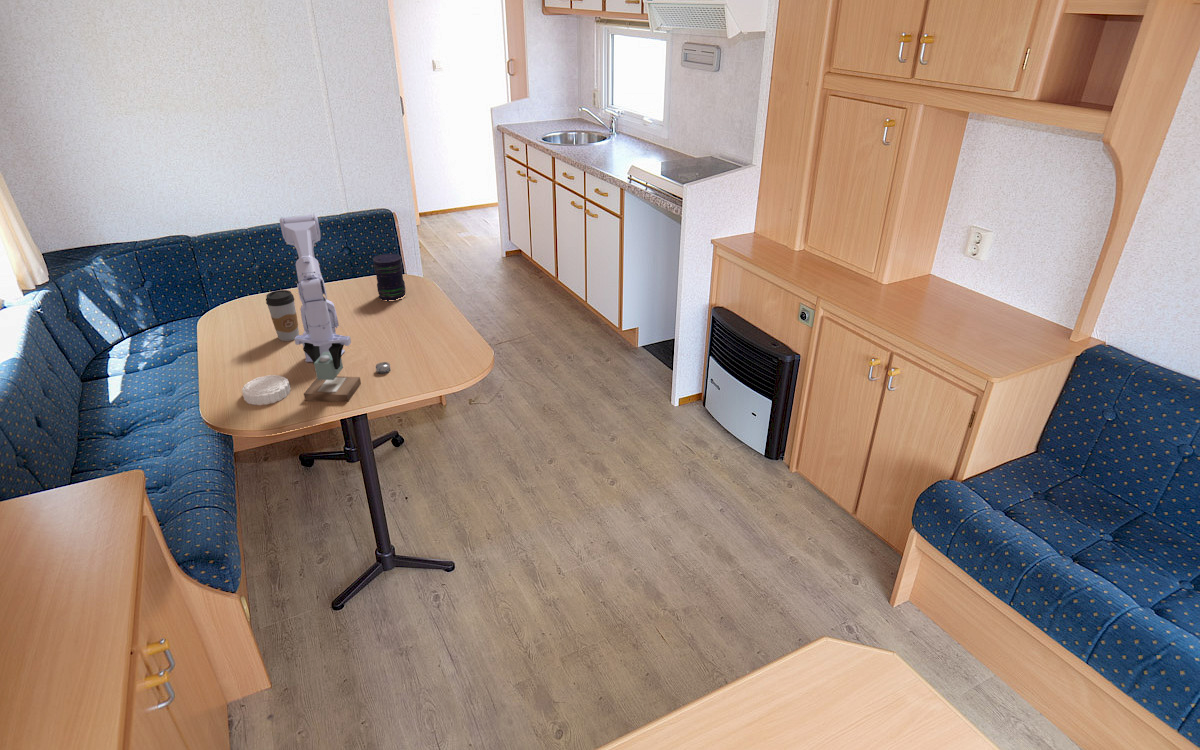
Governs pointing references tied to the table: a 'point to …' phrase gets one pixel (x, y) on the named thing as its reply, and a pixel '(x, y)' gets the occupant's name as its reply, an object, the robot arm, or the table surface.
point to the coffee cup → (283, 314)
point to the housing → (326, 367)
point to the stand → (333, 389)
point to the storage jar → (389, 276)
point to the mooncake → (266, 390)
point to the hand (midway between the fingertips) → (328, 367)
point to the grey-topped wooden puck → (383, 368)
